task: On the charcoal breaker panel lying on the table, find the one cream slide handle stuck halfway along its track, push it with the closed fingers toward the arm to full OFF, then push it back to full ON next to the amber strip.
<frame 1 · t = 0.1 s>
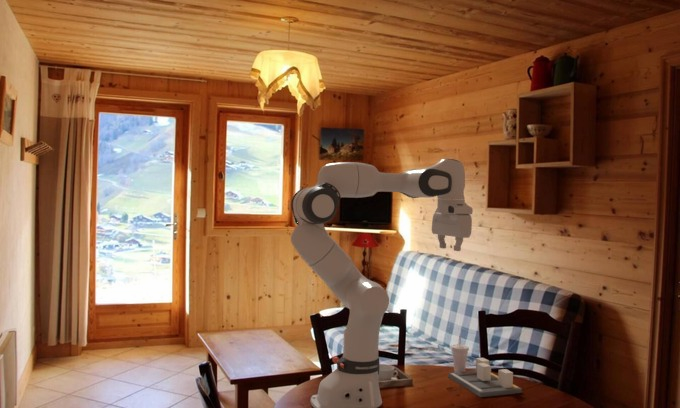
hand: (449, 249, 182), 48 cm above the table, fingers open, 8 cm apart
breaker panel: (483, 384, 192), on the table
teacup: (383, 380, 195), resting in teacup coaster frame
teacup coaster frame: (384, 379, 195), on the table
smoothie: (459, 372, 206), on the table
tripped handle: (483, 371, 192), point 4 cm above the table, slide at 4.0 cm
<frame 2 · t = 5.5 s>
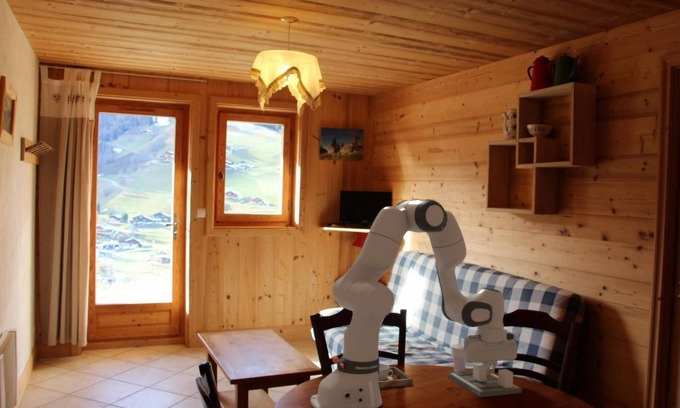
hand: (489, 373, 193), 4 cm above the table, fingers closed
teacup: (378, 380, 196), resting in teacup coaster frame
tripped handle: (479, 372, 192), point 4 cm above the table, slide at 2.4 cm, touching gripper
everything else where it was.
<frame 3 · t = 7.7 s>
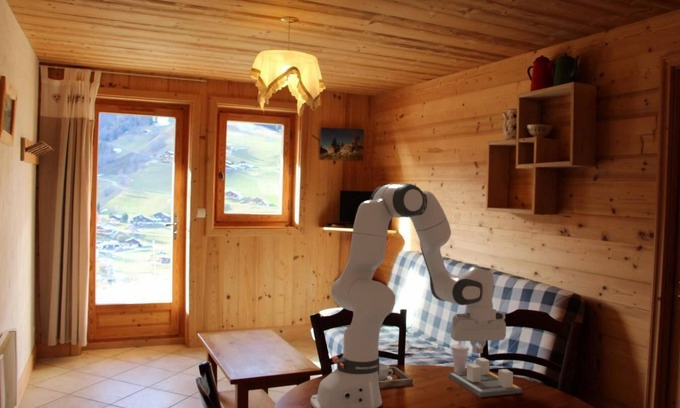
hand: (477, 352, 191), 11 cm above the table, fingers closed
tripped handle: (473, 372, 191), point 5 cm above the table, slide at -0.1 cm
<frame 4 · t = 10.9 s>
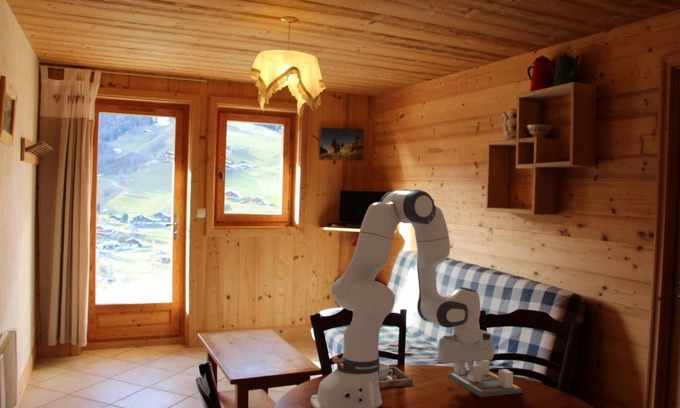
hand: (465, 374, 190), 4 cm above the table, fingers closed
teacup: (378, 379, 196), resting in teacup coaster frame
tripped handle: (474, 372, 191), point 5 cm above the table, slide at 0.3 cm, touching gripper
everything else where it was.
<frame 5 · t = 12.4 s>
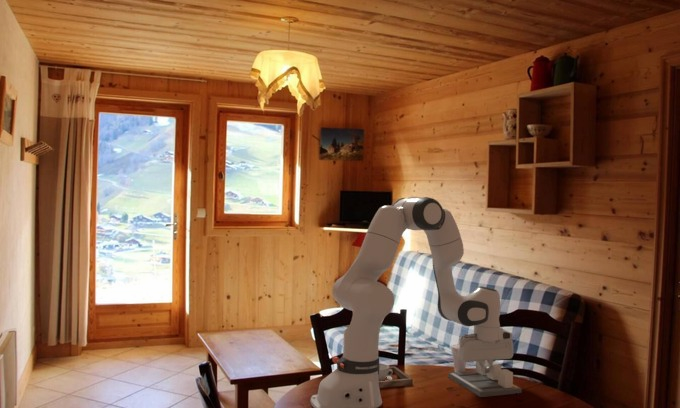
hand: (485, 372, 192), 4 cm above the table, fingers closed
teacup: (378, 379, 196), resting in teacup coaster frame
tripped handle: (494, 371, 193), point 5 cm above the table, slide at 8.1 cm, touching gripper
everything else where it was.
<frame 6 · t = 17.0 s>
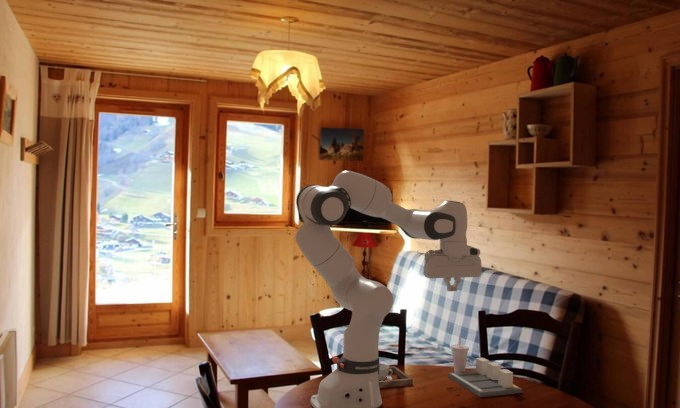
hand: (452, 291, 183), 34 cm above the table, fingers closed
tripped handle: (493, 371, 193), point 4 cm above the table, slide at 8.1 cm
everything else where it was.
at the end: tripped handle slide at 8.1 cm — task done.
